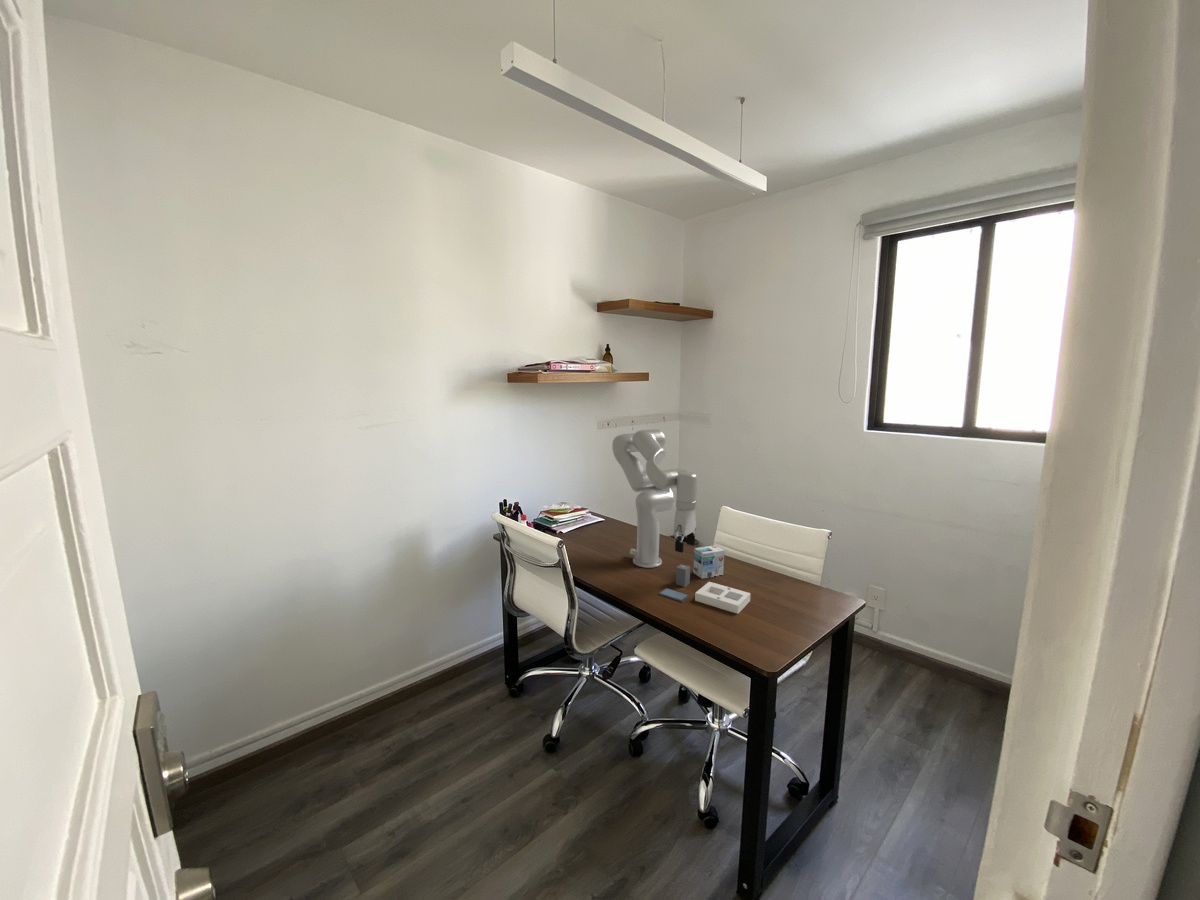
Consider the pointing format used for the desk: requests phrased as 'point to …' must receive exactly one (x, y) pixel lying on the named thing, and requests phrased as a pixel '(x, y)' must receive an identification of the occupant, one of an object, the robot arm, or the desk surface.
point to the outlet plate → (723, 597)
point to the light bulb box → (708, 561)
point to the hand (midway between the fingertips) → (685, 548)
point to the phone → (674, 595)
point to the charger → (682, 575)
